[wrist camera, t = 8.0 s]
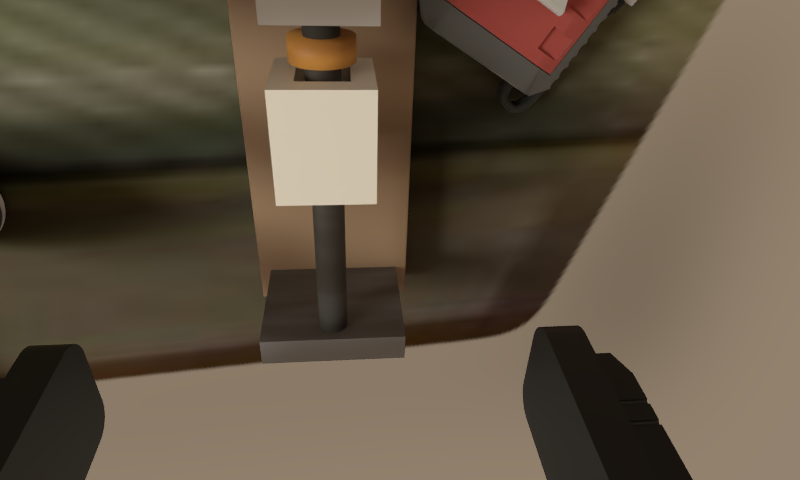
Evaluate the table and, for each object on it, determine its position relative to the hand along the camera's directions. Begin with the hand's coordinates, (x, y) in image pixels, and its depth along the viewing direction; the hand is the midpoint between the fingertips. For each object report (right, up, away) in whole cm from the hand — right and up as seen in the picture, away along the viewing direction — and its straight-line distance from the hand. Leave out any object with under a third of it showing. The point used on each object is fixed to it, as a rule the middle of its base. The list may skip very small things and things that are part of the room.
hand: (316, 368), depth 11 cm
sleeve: (-1, +7, +11) cm, 13 cm away
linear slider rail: (-2, +8, +15) cm, 17 cm away
